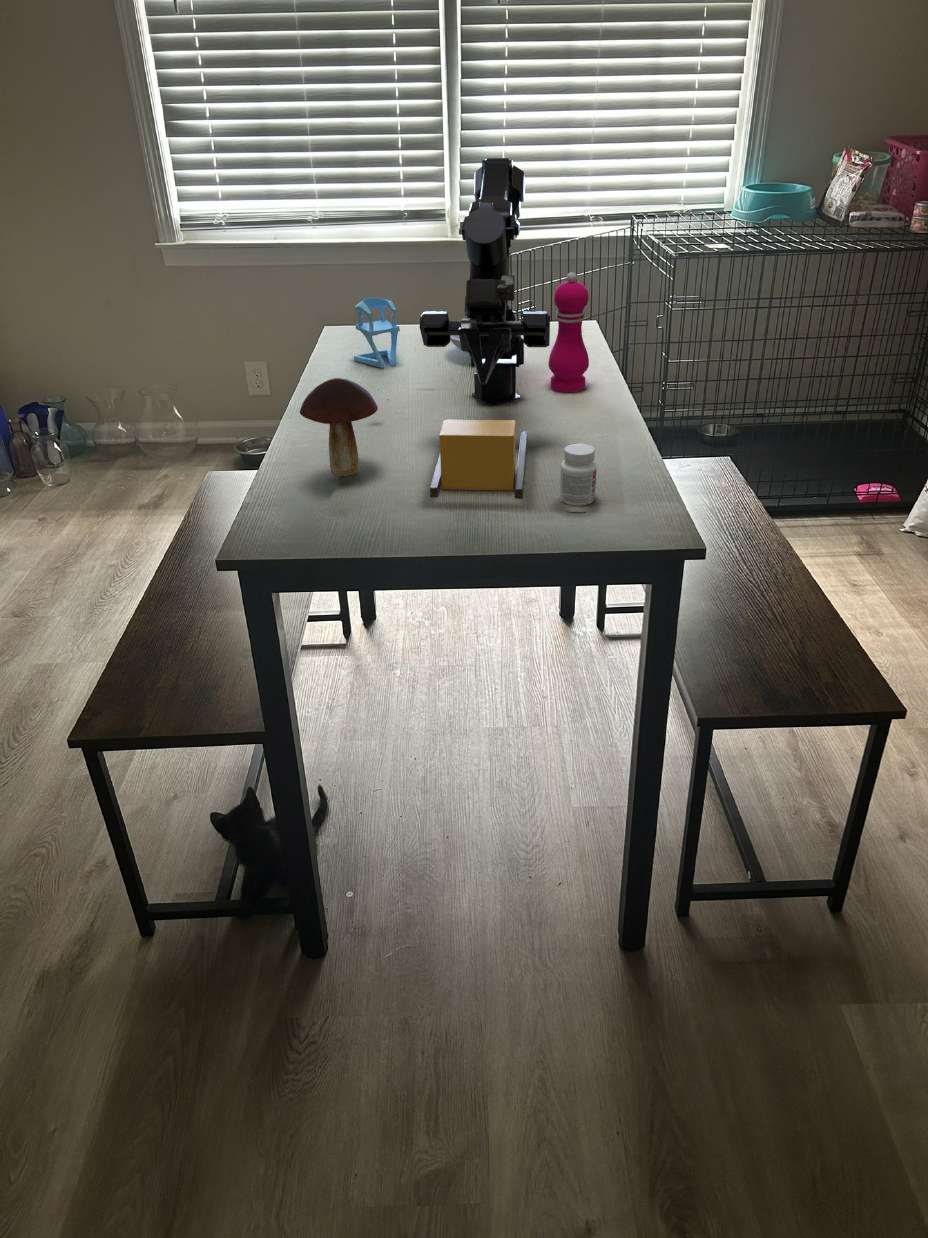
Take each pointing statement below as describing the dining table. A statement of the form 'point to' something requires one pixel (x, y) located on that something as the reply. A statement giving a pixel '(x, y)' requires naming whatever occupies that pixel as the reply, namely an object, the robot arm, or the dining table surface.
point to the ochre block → (478, 454)
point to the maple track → (519, 477)
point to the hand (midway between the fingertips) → (483, 382)
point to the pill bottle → (578, 475)
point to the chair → (377, 331)
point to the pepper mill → (569, 337)
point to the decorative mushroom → (340, 419)
